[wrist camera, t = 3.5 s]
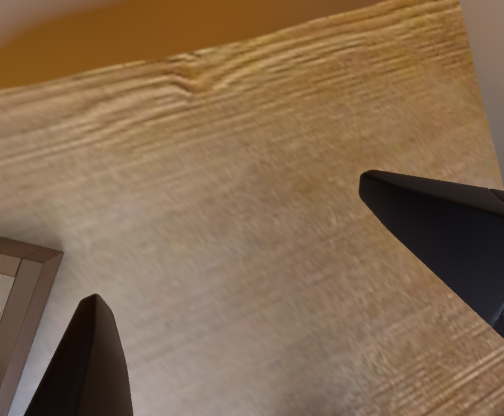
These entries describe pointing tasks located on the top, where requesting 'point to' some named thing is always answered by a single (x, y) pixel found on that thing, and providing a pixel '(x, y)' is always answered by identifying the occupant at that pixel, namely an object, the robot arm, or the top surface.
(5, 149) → the top surface
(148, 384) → the top surface
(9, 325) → the can rack
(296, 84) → the top surface
